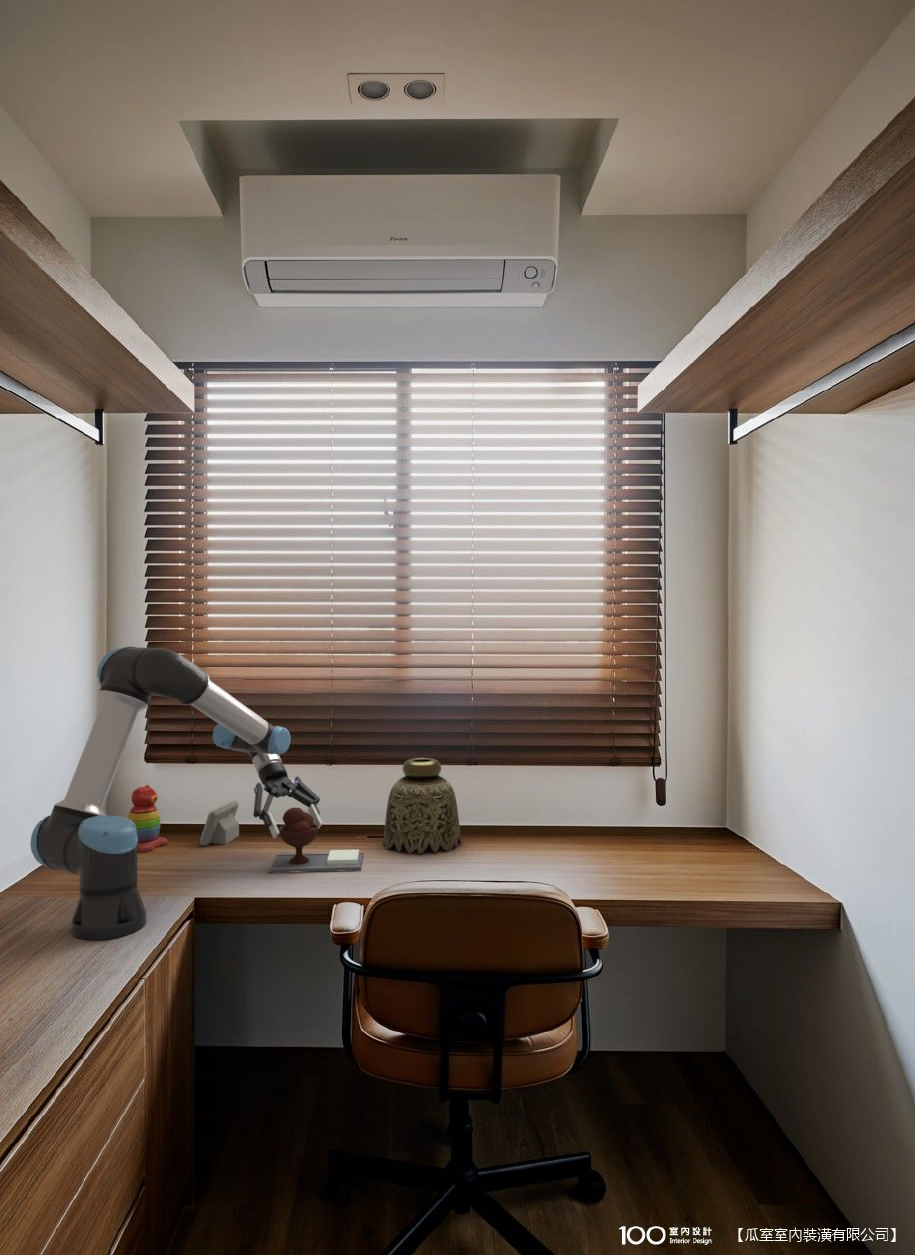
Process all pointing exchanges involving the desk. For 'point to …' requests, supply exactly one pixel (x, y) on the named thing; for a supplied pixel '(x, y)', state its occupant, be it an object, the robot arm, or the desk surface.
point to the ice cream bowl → (298, 832)
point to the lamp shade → (422, 809)
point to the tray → (310, 863)
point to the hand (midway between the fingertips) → (298, 830)
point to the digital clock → (221, 825)
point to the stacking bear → (146, 819)
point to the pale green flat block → (343, 858)
